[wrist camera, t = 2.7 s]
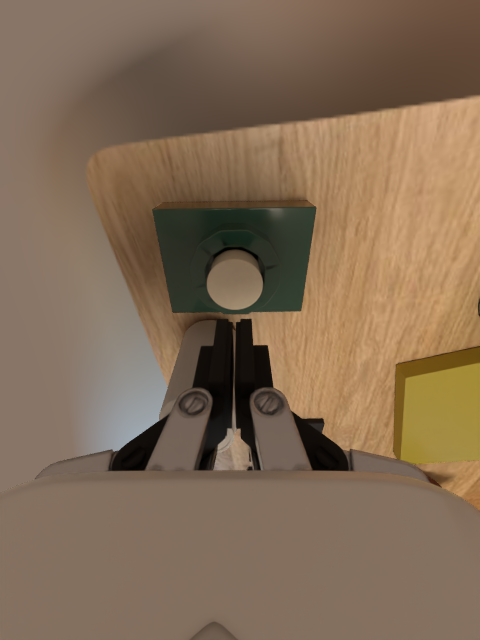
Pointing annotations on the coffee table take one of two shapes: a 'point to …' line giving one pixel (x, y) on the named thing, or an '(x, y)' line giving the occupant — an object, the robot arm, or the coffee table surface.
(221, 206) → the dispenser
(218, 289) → the cylinder
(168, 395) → the beverage can
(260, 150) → the coffee table surface
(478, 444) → the flat olive board
